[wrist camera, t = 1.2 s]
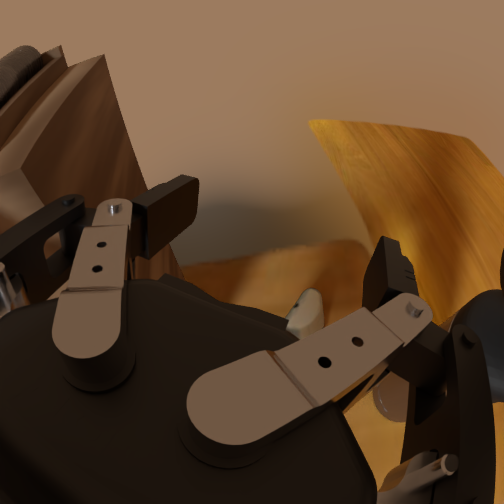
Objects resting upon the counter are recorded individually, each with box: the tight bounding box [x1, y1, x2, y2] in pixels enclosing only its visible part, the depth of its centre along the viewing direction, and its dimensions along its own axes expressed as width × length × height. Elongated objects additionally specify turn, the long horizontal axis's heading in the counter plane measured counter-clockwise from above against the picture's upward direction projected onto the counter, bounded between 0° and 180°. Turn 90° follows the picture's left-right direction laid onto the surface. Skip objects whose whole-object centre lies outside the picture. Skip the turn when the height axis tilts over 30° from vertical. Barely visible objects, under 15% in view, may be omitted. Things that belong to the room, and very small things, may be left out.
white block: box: [285, 288, 324, 340], centre depth 33 cm, size 6×5×8 cm
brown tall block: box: [0, 45, 185, 300], centre depth 23 cm, size 12×13×34 cm
